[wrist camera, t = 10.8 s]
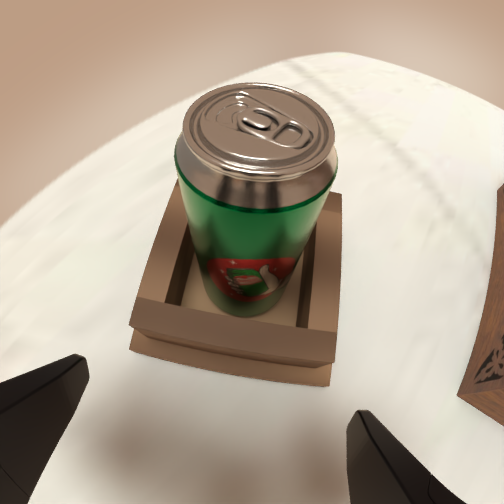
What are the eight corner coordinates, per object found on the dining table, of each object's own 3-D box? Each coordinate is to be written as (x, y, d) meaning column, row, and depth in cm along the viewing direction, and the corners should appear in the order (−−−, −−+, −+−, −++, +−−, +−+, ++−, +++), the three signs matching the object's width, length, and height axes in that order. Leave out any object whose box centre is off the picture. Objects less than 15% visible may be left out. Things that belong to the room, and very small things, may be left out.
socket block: (324, 386, 17) (351, 384, 12) (134, 351, 17) (106, 338, 13) (336, 222, 22) (355, 185, 18) (181, 196, 22) (172, 155, 18)
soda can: (234, 230, 20) (239, 63, 9) (299, 270, 19) (369, 117, 8) (187, 288, 18) (132, 135, 7) (256, 335, 17) (295, 224, 6)
